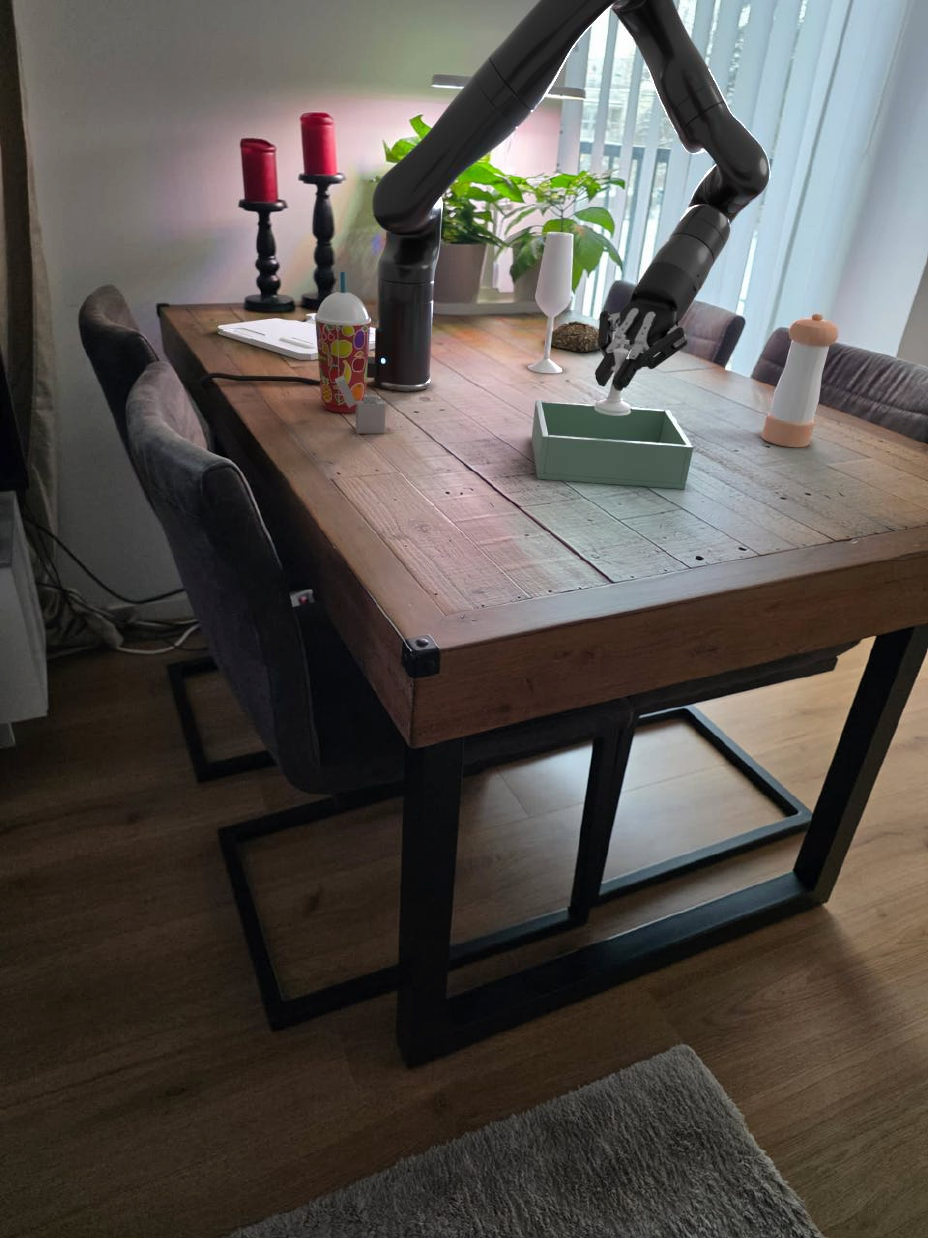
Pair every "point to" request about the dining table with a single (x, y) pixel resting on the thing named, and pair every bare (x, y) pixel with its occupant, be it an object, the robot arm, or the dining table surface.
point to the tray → (282, 336)
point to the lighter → (365, 409)
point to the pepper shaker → (800, 383)
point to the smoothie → (342, 347)
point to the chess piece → (614, 400)
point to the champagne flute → (554, 289)
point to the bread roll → (576, 337)
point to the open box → (609, 446)
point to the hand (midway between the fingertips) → (608, 384)
